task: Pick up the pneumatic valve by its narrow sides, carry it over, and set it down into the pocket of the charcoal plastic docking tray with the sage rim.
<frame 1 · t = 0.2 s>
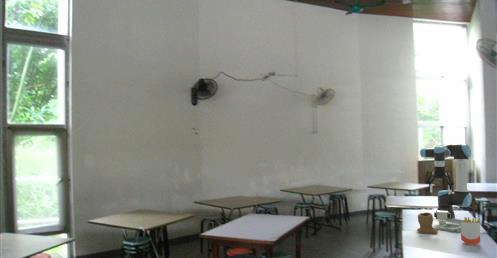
hand: (440, 193, 326), 27 cm above the table, tool pointing down, fingers open, 13 cm apart
french fries container: (470, 244, 277), on the table
stone cup: (427, 233, 309), on the table
pneumatic valve: (442, 224, 336), on the table
docking tray: (451, 229, 320), on the table
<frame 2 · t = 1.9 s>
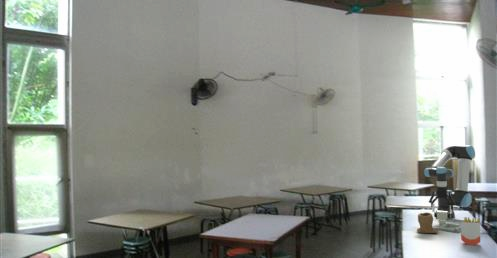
hand: (442, 212, 336), 10 cm above the table, tool pointing down, fingers open, 13 cm apart
nothing on the table moved.
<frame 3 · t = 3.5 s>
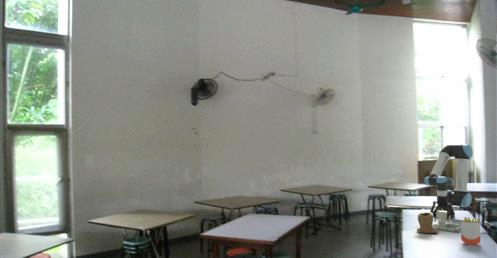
hand: (442, 222, 336), 2 cm above the table, tool pointing down, fingers closed on pneumatic valve, 11 cm apart
pneumatic valve: (441, 224, 337), on the table, touching gripper
everything else where it was.
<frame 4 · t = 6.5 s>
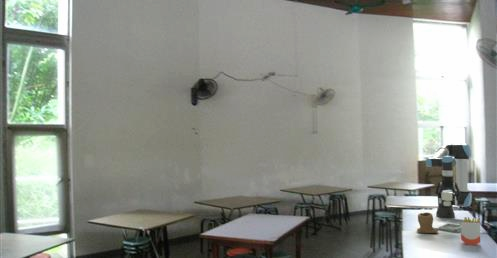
hand: (448, 203, 324), 19 cm above the table, tool pointing down, fingers closed on pneumatic valve, 11 cm apart
pneumatic valve: (447, 206, 324), point 17 cm above the table, touching gripper
everything else where it was.
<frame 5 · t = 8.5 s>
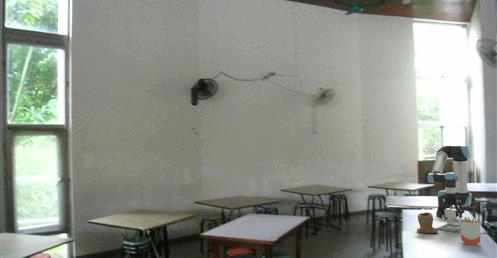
hand: (451, 221, 320), 6 cm above the table, tool pointing down, fingers closed on pneumatic valve, 11 cm apart
pneumatic valve: (450, 223, 320), point 4 cm above the table, touching gripper
everything else where it was.
when the fingers open (4 cm above the table, at t = 9.9 s): pneumatic valve drops 1 cm, resting on docking tray.
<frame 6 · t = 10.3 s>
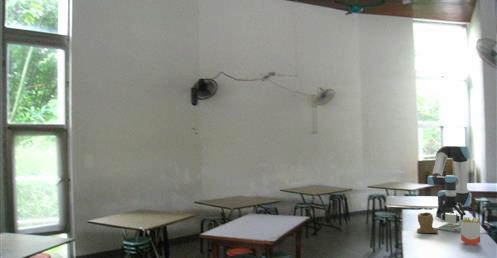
hand: (451, 223, 320), 5 cm above the table, tool pointing down, fingers open, 13 cm apart
pneumatic valve: (451, 228, 320), point 1 cm above the table, touching docking tray
everything else where it was.
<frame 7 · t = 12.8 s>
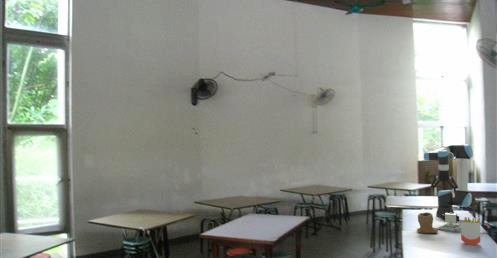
hand: (444, 196, 330), 24 cm above the table, tool pointing down, fingers open, 13 cm apart
nothing on the table moved.
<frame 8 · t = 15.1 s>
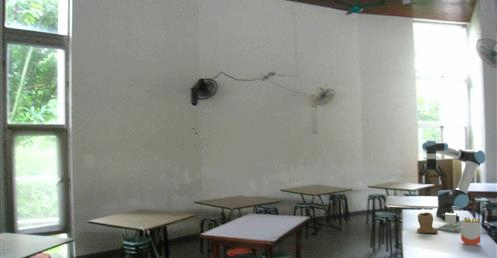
hand: (431, 183, 348), 32 cm above the table, tool pointing down, fingers open, 13 cm apart
nothing on the table moved.
at the end: pneumatic valve 0.4 cm off-centre on the docking tray, point 0.8 cm above the docking tray's base; pneumatic valve tilted 0°; the gripper is holding nothing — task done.
